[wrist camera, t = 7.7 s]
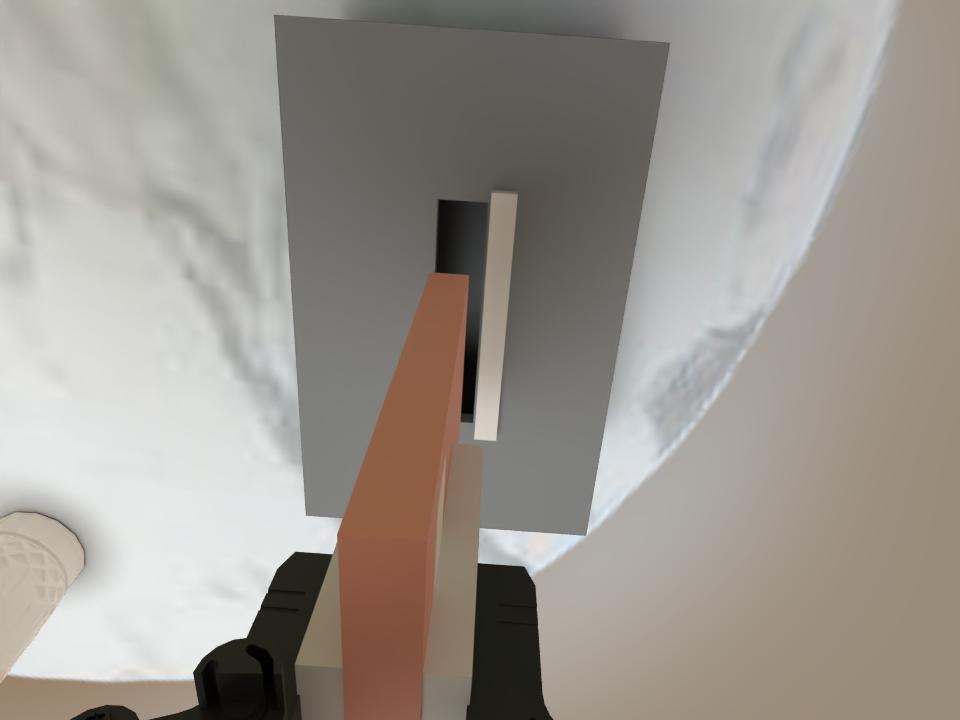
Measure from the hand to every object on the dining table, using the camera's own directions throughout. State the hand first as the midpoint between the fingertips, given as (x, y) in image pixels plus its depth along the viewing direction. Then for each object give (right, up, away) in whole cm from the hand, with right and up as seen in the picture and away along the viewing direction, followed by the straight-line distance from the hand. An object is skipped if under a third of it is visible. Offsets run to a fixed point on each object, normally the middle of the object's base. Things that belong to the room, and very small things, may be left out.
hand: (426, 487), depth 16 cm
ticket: (0, +2, +5) cm, 5 cm away
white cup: (-31, -10, +30) cm, 44 cm away
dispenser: (+1, +9, +20) cm, 22 cm away
